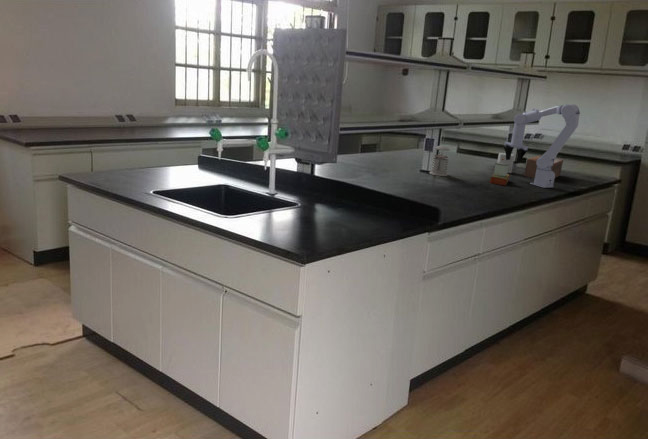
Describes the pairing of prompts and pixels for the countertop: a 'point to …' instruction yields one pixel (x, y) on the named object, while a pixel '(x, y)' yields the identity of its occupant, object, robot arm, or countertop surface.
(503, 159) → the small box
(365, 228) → the countertop surface
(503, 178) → the carton
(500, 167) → the box
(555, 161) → the tissue box cover
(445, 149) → the french press
